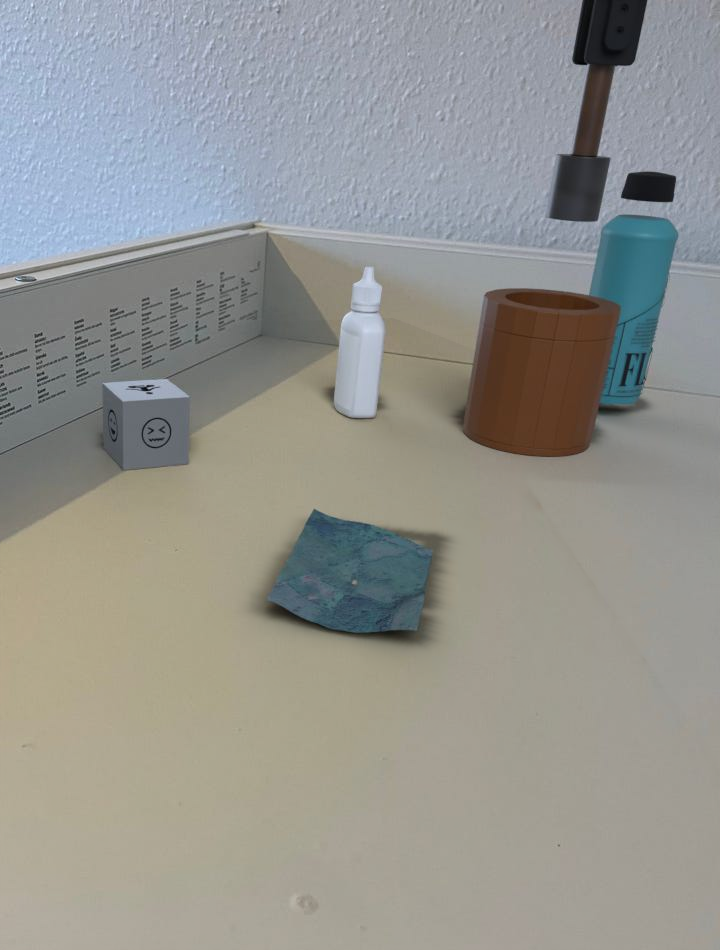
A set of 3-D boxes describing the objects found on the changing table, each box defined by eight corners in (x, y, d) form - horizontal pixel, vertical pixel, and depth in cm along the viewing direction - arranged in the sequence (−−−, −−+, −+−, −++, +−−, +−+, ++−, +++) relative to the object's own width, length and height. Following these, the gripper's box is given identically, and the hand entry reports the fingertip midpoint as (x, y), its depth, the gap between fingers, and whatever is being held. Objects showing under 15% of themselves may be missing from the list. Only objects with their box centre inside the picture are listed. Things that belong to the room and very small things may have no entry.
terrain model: (310, 534, 62) (314, 506, 61) (434, 557, 60) (439, 529, 60) (262, 627, 51) (265, 595, 50) (411, 658, 50) (418, 625, 49)
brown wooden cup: (569, 421, 88) (597, 292, 82) (606, 459, 78) (640, 317, 73) (453, 415, 87) (473, 285, 82) (475, 453, 78) (500, 309, 73)
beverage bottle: (613, 426, 87) (672, 176, 77) (548, 407, 91) (596, 168, 81) (650, 414, 91) (711, 175, 81) (586, 397, 95) (637, 168, 85)
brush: (588, 217, 71) (639, -33, 64) (604, 222, 68) (659, -39, 61) (539, 214, 71) (584, -36, 64) (553, 220, 68) (601, -42, 61)
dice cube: (165, 443, 77) (166, 378, 74) (188, 464, 73) (190, 396, 70) (103, 448, 75) (102, 382, 73) (123, 470, 71) (122, 401, 69)
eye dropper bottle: (322, 415, 85) (335, 269, 80) (337, 399, 90) (351, 260, 84) (372, 422, 84) (389, 274, 78) (384, 406, 89) (401, 265, 83)
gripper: (808, -359, 49) (706, 65, 58) (685, -261, 63) (618, 70, 72) (659, -368, 49) (581, 59, 58) (569, -268, 63) (516, 64, 72)
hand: (602, 62), depth 65 cm, fingers closed on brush
